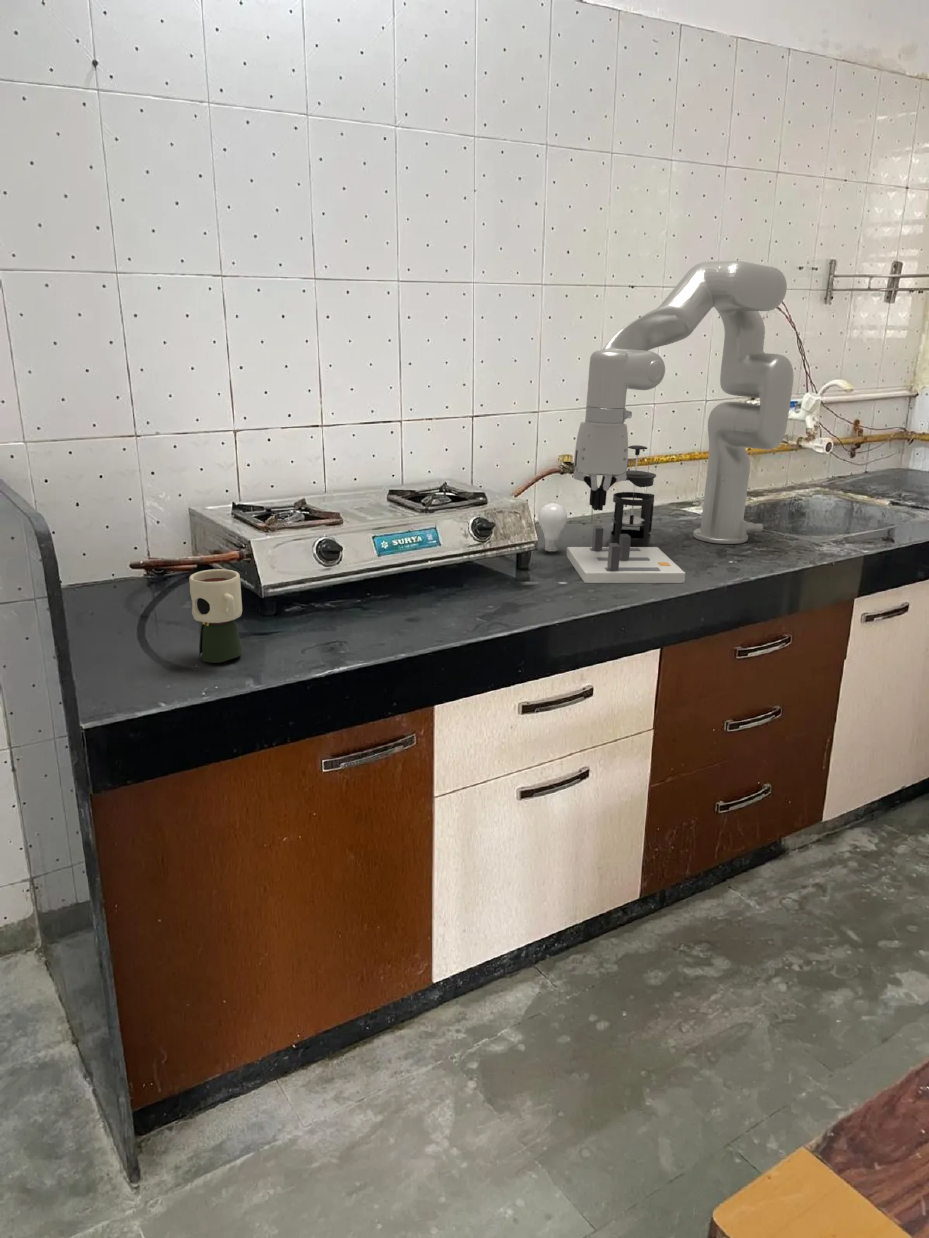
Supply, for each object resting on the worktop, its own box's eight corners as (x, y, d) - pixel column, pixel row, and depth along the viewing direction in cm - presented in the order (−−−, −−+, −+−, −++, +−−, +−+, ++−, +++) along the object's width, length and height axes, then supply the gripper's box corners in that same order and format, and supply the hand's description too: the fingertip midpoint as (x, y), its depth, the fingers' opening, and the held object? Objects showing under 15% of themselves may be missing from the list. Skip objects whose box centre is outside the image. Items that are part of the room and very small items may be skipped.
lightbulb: (563, 557, 188) (566, 507, 185) (534, 554, 190) (537, 505, 186) (566, 549, 194) (569, 501, 191) (538, 547, 196) (540, 499, 192)
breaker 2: (615, 566, 174) (617, 543, 172) (618, 570, 171) (620, 546, 170) (607, 566, 174) (609, 543, 172) (610, 570, 171) (612, 546, 170)
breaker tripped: (625, 556, 181) (627, 533, 180) (629, 559, 179) (630, 537, 177) (618, 556, 181) (619, 533, 180) (621, 559, 179) (623, 537, 177)
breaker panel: (656, 556, 191) (657, 546, 190) (684, 582, 172) (685, 572, 171) (566, 555, 189) (567, 546, 189) (584, 583, 171) (585, 572, 170)
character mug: (183, 652, 132) (175, 570, 128) (227, 642, 136) (221, 563, 132) (214, 675, 124) (206, 589, 120) (259, 664, 129) (254, 580, 124)
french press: (630, 556, 190) (639, 450, 182) (597, 547, 197) (605, 445, 189) (663, 548, 197) (673, 446, 190) (631, 539, 204) (639, 441, 196)
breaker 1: (599, 547, 188) (600, 525, 186) (601, 550, 185) (603, 528, 184) (591, 547, 188) (593, 525, 186) (594, 550, 185) (596, 528, 184)
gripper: (637, 415, 174) (628, 506, 180) (563, 413, 173) (557, 504, 179) (647, 419, 167) (638, 513, 173) (570, 417, 166) (563, 512, 172)
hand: (597, 508), depth 176 cm, fingers closed
